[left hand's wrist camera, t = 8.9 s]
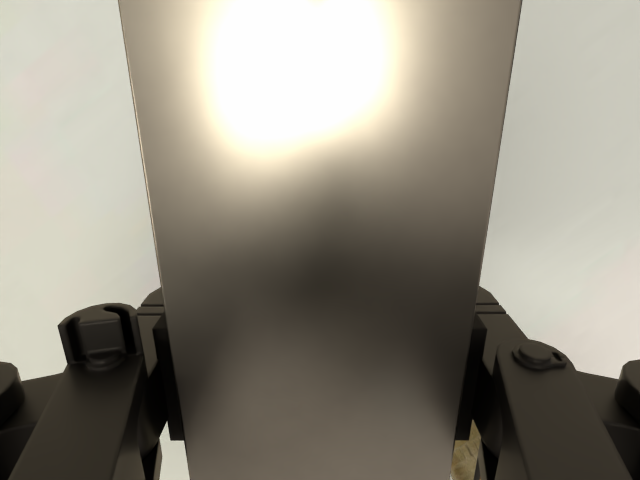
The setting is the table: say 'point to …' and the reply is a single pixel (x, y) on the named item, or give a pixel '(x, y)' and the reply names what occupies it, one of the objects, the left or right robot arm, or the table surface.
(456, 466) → the sculpture
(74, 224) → the table surface
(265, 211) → the bar
